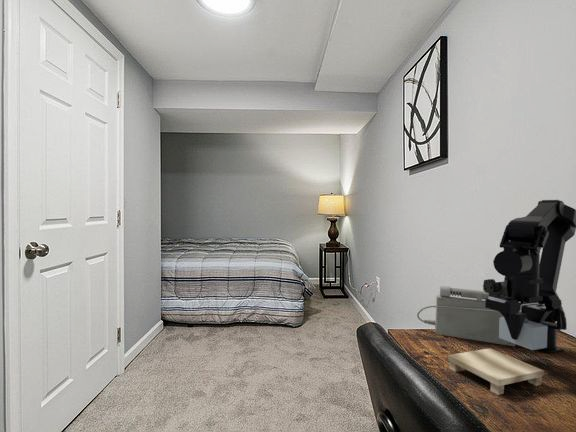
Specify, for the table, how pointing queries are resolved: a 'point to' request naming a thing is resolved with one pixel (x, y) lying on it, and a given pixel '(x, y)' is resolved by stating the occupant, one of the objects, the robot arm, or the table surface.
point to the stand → (495, 368)
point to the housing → (526, 334)
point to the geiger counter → (466, 316)
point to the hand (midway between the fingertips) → (522, 338)
